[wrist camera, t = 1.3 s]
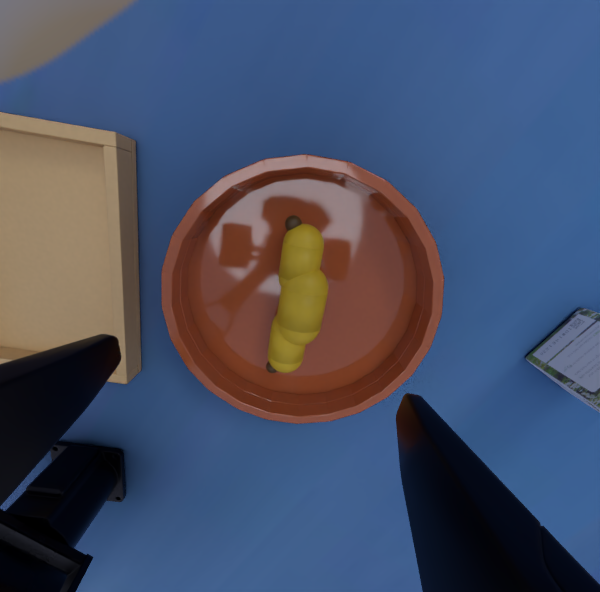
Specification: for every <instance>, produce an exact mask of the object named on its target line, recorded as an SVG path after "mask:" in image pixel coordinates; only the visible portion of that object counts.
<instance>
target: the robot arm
mask: <svg viewBox="0 0 600 592" xmlns="http://www.w3.org/2000/svg"><path fill="white" fill-rule="evenodd" d="M120 362H121V351H120V346H119V341H118V338H117V337H116V336H113V335H108V334H99V335H96V336H92V337H89V338H86V339H82V340H79V341H76V342H72V343H69V344H66V345H62V346H59V347H56V348H52V349H49V350H45V351H42V352H39V353H35V354H32V355H29V356H25V357H22V358H19V359H15V360H12V361H9V362H5V363H2V364H0V506H1V505H2V504H3V503H4V502H5V500H6V499H7V498H8V497H9V496H10V495H11V494H12V492H13V491H14V490H15V489H16V488H17V487H18V486H19V485H20V483H21V482H22V481H23V480H24V479H25V478H26V477H27V475H28V474H29V473H30V472H31V471H32V470H33V469H34V468H35V466H36V465H37V464H38V463H39V462H40V461H41V460H42V458H43V457H44V456H45V455H46V454H47V453H48V452H49V451H51V457H52V462H51V463H50V464H49V465H48V466H47V467H46V468H45V469H44V470H43V471H42V472H41V473H40V474H39V475H38V476H37V477H36V478H35V479H34V480H33V481H32V482H31V483H30V484H29V485H28V486H27V488H26V491H25V492H24V493H23V494H22V495H21V496H20V497H19V498H18V499H17V500H16V501H15V502H14V503H13V504H12V505H11V506H10V507H9V508H8V509H7V510H6V511H3V510H1V509H0V592H76V590H77V588H78V586H79V584H80V582H81V580H82V578H83V576H84V574H85V572H86V570H87V569H88V567H89V565H90V563H91V561H92V559H93V557H92V556H91V555H89V554H87V555H85V554H83V553H81V552H80V551H78V550H76V549H74V547H75V546H76V545H77V543H78V542H79V540H80V539H81V537H82V536H83V534H84V533H85V531H86V530H87V528H88V527H89V525H90V524H91V522H92V521H93V520H94V518H95V517H96V515H97V514H98V512H99V511H100V509H101V508H102V506H103V505H104V503H105V502H106V500H107V501H115V502H121V501H123V499H124V498H125V496H126V489H125V471H124V453H123V451H122V450H120V449H114V448H107V447H99V446H91V445H84V444H76V443H68V442H61V441H58V440H59V439H60V438H61V437H62V436H63V435H64V434H65V432H66V431H67V430H68V429H69V428H70V427H71V426H72V424H73V423H74V422H75V421H76V420H77V419H78V418H79V416H80V415H81V414H82V413H83V412H84V411H85V409H86V408H87V407H88V406H89V404H90V403H91V402H92V401H93V399H94V398H95V397H96V395H97V394H98V393H99V391H100V390H101V388H102V387H103V386H104V384H105V383H106V382H107V380H108V379H109V378H110V376H111V375H112V374H113V372H114V371H115V369H116V368H117V367H118V365H119V364H120ZM396 426H397V437H398V449H399V461H400V471H401V479H402V485H403V490H404V495H405V500H406V506H407V511H408V516H409V521H410V527H411V532H412V537H413V542H414V548H415V553H416V558H417V564H418V569H419V574H420V579H421V585H422V590H423V592H600V584H599V583H598V582H597V581H596V580H595V579H594V578H593V577H592V576H591V575H590V574H589V573H588V572H587V571H586V570H585V569H584V568H583V567H582V566H581V565H580V564H579V563H578V562H577V561H576V560H575V559H574V558H573V557H572V556H571V555H570V553H569V552H568V551H567V550H566V549H565V548H564V547H563V546H562V545H561V544H560V543H559V542H558V541H557V540H556V539H555V538H554V537H553V536H552V535H551V534H550V532H549V531H548V530H547V529H546V528H545V527H544V526H540V522H539V521H538V520H537V519H536V518H535V517H534V516H533V515H532V514H531V512H530V511H529V510H528V509H527V508H526V507H525V506H524V505H523V504H522V503H521V502H520V501H519V500H518V499H517V498H516V497H515V495H514V494H513V493H512V492H511V491H510V490H509V489H508V488H507V487H506V486H505V485H504V484H503V483H502V482H501V481H500V480H499V479H498V477H497V476H496V475H495V474H494V473H493V472H492V471H491V470H490V469H489V468H488V467H487V466H486V465H485V464H484V463H483V462H482V460H481V459H480V458H479V457H478V456H477V455H476V454H475V453H474V452H473V451H472V450H471V449H470V448H469V447H468V446H467V445H466V444H465V442H464V441H463V440H462V439H461V438H460V437H459V436H458V435H457V434H456V433H455V432H454V431H453V430H452V429H451V428H450V427H449V425H448V424H447V423H446V422H445V421H444V420H443V419H442V418H441V417H440V416H439V415H438V414H437V413H436V412H435V411H434V410H433V409H432V407H431V406H430V405H429V404H428V403H427V402H426V401H425V400H424V399H423V398H422V397H421V396H419V395H414V394H409V393H407V394H405V395H404V397H403V399H402V401H401V404H400V406H399V409H398V411H397V415H396Z"/></svg>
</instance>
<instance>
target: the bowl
mask: <svg viewBox="0 0 600 592" xmlns="http://www.w3.org/2000/svg"><path fill="white" fill-rule="evenodd" d="M292 215H295V216H298V217H299V218H300V219H301V221H302V224H309V225H312V226H314V227H315V228H316V229H318V230H319V232H320V233H321V235H322V237H323V240H324V250H323V255H322V260H321V266H320V270H321V271H322V272H323V273H324V275H325V277H326V279H327V282H328V295H327V300H326V304H325V309H324V314H323V319H322V324H321V329H320V332H319V334H318V335H317V337H316V338H315V339H314V340H313V341H311V342H310V343H308V344H306V346H305V352H304V357H303V361H302V363H301V365H300V366H299V367H298V368H297V369H296V370H294V371H292V372H289V373H282V372H279V371H277V372H275V373H269V372H268V371H267V369H266V364H267V362H268V361H269V360H268V347H269V339H270V332H271V325H272V321H273V319H274V317H275V316H276V315H277V312H278V305H279V298H280V291H281V286H280V284H279V279H278V276H279V267H280V260H281V253H282V246H283V240H284V237H285V234H286V233H287V232H288V230H287V229H286V227H285V221H286V219H287V218H288V217H289V216H292ZM443 289H444V276H443V271H442V267H441V262H440V258H439V253H438V249H437V245H436V242H435V240H434V238H433V236H432V235H431V233H430V231H429V229H428V228H427V226H426V224H425V222H424V220H423V219H422V217H421V215H420V213H419V212H418V210H417V209H416V208H415V207H414V206H413V205H412V204H411V203H410V202H409V201H408V200H407V199H406V198H405V197H404V196H403V195H402V194H401V193H400V192H399V191H398V190H396V189H395V188H394V187H393V186H392V185H391V184H390V183H389V182H388V181H387V180H385V179H383V178H381V177H379V176H377V175H375V174H373V173H371V172H369V171H367V170H365V169H363V168H361V167H359V166H357V165H355V164H353V163H351V162H348V161H343V160H337V159H332V158H326V157H320V156H315V155H309V154H307V155H306V154H302V155H293V156H285V157H276V158H268V159H264V160H260V161H258V162H256V163H253V164H251V165H249V166H246V167H244V168H242V169H239V170H237V171H235V172H232V173H230V174H228V175H226V176H224V177H222V178H221V179H220V180H219V181H218V182H217V183H215V184H214V185H213V186H212V187H211V188H209V189H208V190H207V191H206V192H205V193H204V194H202V195H201V196H200V197H199V198H198V199H196V200H195V201H194V202H193V204H192V205H191V207H190V208H189V210H188V211H187V213H186V214H185V216H184V218H183V219H182V221H181V222H180V224H179V225H178V227H177V228H176V230H175V231H174V233H173V236H172V237H171V240H170V244H169V247H168V251H167V254H166V257H165V261H164V264H163V268H162V310H163V313H164V317H165V321H166V324H167V328H168V331H169V335H170V338H171V341H172V342H173V344H174V346H175V348H176V349H177V351H178V353H179V354H180V356H181V358H182V360H183V361H184V363H185V365H186V366H187V367H188V369H189V370H190V371H191V372H192V373H193V374H194V376H195V377H196V378H197V379H198V380H199V381H200V382H201V383H202V384H203V385H204V386H205V387H206V388H207V389H208V390H209V391H211V392H212V393H213V394H215V395H217V396H218V397H220V398H221V399H223V400H224V401H226V402H228V403H229V404H231V405H232V406H234V407H235V408H237V409H239V410H242V411H245V412H247V413H250V414H253V415H255V416H258V417H261V418H264V419H267V420H273V421H280V422H288V423H295V424H301V423H315V422H328V421H333V420H336V419H340V418H343V417H347V416H350V415H353V414H357V413H360V412H362V411H363V410H365V409H367V408H369V407H371V406H372V405H374V404H376V403H378V402H380V401H381V400H383V399H385V398H387V397H388V396H390V395H391V394H392V393H393V392H394V391H395V390H396V389H397V388H398V387H399V386H401V385H402V384H403V383H404V382H405V381H406V380H407V379H408V378H409V377H410V376H412V374H413V373H414V372H415V370H416V369H417V367H418V366H419V364H420V363H421V361H422V360H423V358H424V357H425V355H426V354H427V352H428V351H429V349H430V347H431V345H432V342H433V339H434V336H435V333H436V330H437V327H438V325H439V322H440V319H441V314H442V305H443Z"/></svg>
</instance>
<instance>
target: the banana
mask: <svg viewBox="0 0 600 592" xmlns="http://www.w3.org/2000/svg"><path fill="white" fill-rule="evenodd" d="M285 227H286V229H287V230H288V232H287V233H286V234H285V237H284V240H283V246H282V253H281V260H280V267H279V276H278V279H279V284H280V286H281V291H280V298H279V305H278V312H277V315H276V316H275V317H274V319H273V321H272V325H271V332H270V339H269V347H268V360H269V361H268V362H267V364H266V369H267V371H268V372H269V373H275V372H277V371H279V372H282V373H289V372H292V371H294V370H296V369H297V368H298V367H299V366H300V365H301V363H302V361H303V357H304V352H305V346H306V344H308V343H310V342H311V341H313V340H314V339H315V338H316V337H317V335H318V334H319V332H320V329H321V324H322V319H323V314H324V309H325V304H326V300H327V295H328V282H327V279H326V277H325V275H324V273H323V272H322V271H321V270H320V266H321V260H322V255H323V250H324V240H323V237H322V235H321V233H320V232H319V230H318V229H316V228H315V227H314V226H312V225H309V224H302V221H301V219H300V218H299V217H298V216H295V215H292V216H289V217H288V218H287V219H286V221H285Z"/></svg>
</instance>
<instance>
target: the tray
mask: <svg viewBox="0 0 600 592" xmlns="http://www.w3.org/2000/svg"><path fill="white" fill-rule="evenodd" d="M99 334H108V335H113V336H116V337H117V338H118V341H119V346H120V351H121V362H120V364H119V365H118V367H117V368H116V369H115V371H114V372H113V374H112V375H111V376H110V378H109V379H108V380H107V382H114V383H121V384H128V383H129V382H130V381H131V380H132V379H133V378H134V377H135V376H136V375H137V374H138V373H139V372H140V371H141V334H140V294H139V255H138V215H137V175H136V141H135V140H133V139H130V138H128V137H125V136H123V135H121V134H118V133H116V132H111V131H106V130H100V129H94V128H89V127H83V126H77V125H71V124H66V123H60V122H54V121H49V120H43V119H37V118H31V117H26V116H20V115H14V114H9V113H3V112H0V364H2V363H5V362H9V361H12V360H15V359H19V358H22V357H25V356H29V355H32V354H35V353H39V352H42V351H45V350H49V349H52V348H56V347H59V346H62V345H66V344H69V343H72V342H76V341H79V340H82V339H86V338H89V337H92V336H96V335H99Z"/></svg>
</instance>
